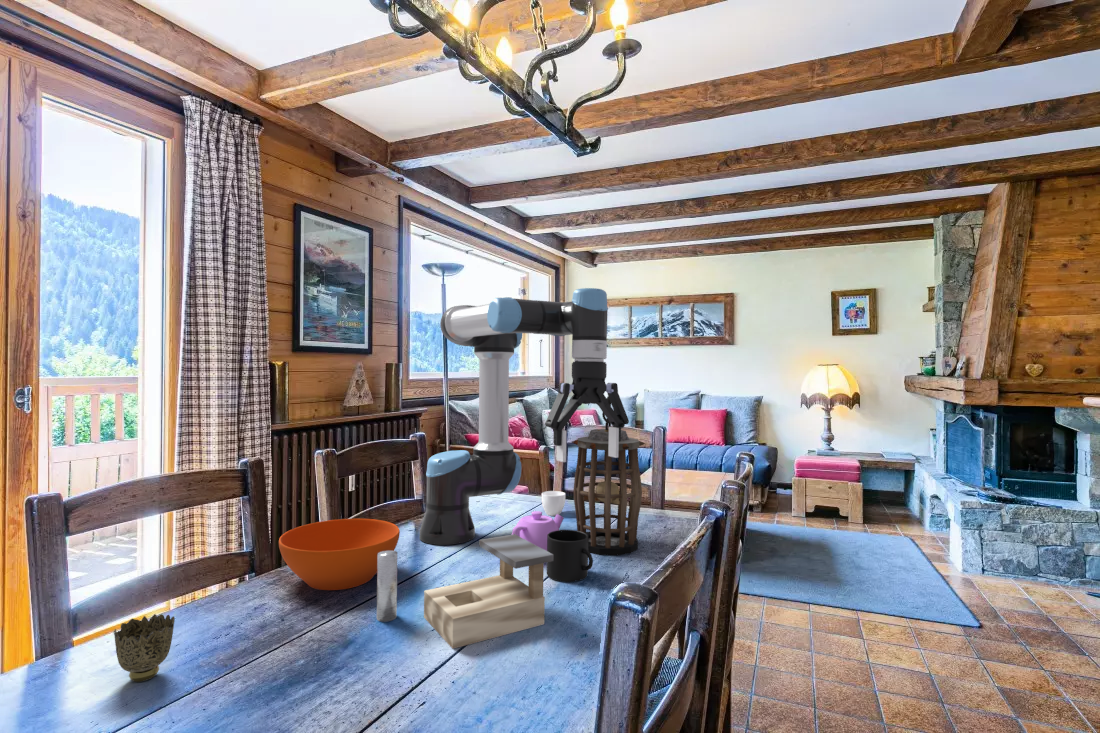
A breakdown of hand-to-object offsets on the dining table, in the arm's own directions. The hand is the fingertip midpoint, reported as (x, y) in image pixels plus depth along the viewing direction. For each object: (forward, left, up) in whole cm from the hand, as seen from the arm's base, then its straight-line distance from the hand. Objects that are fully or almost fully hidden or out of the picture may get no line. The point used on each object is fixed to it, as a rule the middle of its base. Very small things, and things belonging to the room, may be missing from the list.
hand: (587, 459), depth 123 cm
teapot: (-25, +3, -28) cm, 38 cm away
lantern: (-21, +22, -28) cm, 41 cm away
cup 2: (-5, -78, -28) cm, 83 cm away
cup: (-56, +28, -28) cm, 68 cm away
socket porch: (+4, -26, -28) cm, 38 cm away
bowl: (-32, -44, -28) cm, 61 cm away
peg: (-7, -41, -28) cm, 50 cm away
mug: (-7, +1, -28) cm, 29 cm away
